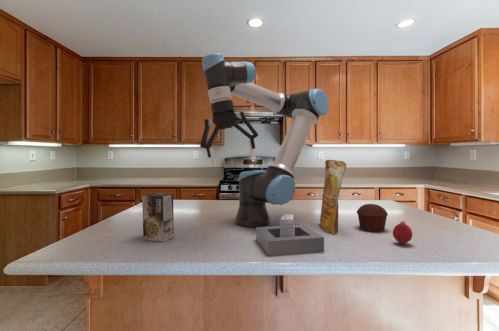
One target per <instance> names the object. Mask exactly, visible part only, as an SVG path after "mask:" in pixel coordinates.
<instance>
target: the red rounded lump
mask: <svg viewBox="0 0 499 331" xmlns="http://www.w3.org/2000/svg"><path fill="white" fill-rule="evenodd" d="M392 236H393V238H394V239H395V241H396V242H398V243H399V244H400V245H405V244H407V243H408V242H410V241H411V240H412V238H413V231H412V228H411V227H410V226H409V225H407V224H406V222H405V220H401V221H400V222H399V223H398V224H396V225H395V226H394V227H393V229H392Z"/></svg>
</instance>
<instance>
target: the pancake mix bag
mask: <svg viewBox="0 0 499 331" xmlns="http://www.w3.org/2000/svg"><path fill="white" fill-rule="evenodd" d="M324 165H325V166H324V167H325V168H324V170H325V172H324V182H323V184H324V186H323V191H322V192H323V193H322V197H321V210H320V215H319V216H320V218H319V224H320V226H321V228H322V230H324V231H325V232H326V233H328V234H333V235H336V234H338V232H339V195H340V191H341V189H342V188H341V187H342V182H343V178H344V176H345V172H346V169H347V164H346V162H345V161H342V160H336V159H326V160H325V161H324Z"/></svg>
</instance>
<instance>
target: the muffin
mask: <svg viewBox="0 0 499 331" xmlns="http://www.w3.org/2000/svg"><path fill="white" fill-rule="evenodd" d="M356 214H357V216H358V217H357V218H358V223H359V224H358V225H359V229H360V230H362V231H364V230H365V232H368V231H369V232H368V233H382V232H384V231H385V228H386V222H387V216H388V215H389V213H388V212H387V210H386V209H385V208H384V207H382V206H381V205H379V204H375V203H366V204H363V205H361V206H360V207H359V208H358V209H357V211H356Z"/></svg>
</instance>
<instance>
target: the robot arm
mask: <svg viewBox="0 0 499 331" xmlns="http://www.w3.org/2000/svg"><path fill="white" fill-rule="evenodd" d="M201 65H202V72H203V76H204V80H205V84H206V89H207V93H208V98H209V102H210V103H211V104H210V108H211V114H212V118H211V119H207V118H206V119H204V129H203V132H202V137H201V141H200V144H199V145H200V148H203V149H205V150H206V153H207V157H208V158H211V159H210V160H211V163H212V167H217V166H218V164H217V160H216V156H215V151H214V147H212V145H213V143H214V142H215V139H216V138H217V135H218V134H219V132H220V131H221V130H227V129H232V128H233V127H234V128H235V129H237V130H238V131H239V132H241V134H243V135H244V136H246V138H248V139H249V140H247V143H248V148H249V153H250V158H251V160H255V155H254V150H255V149H256V143H255V139H256V138H257V137H258V136H259V134H258V132H257V130H256V129H255V128H254V127H253V125H252V124H251V123H250V121H249V120H248V119H247V117H246V115H245V113H244V111H240V112H239V113H236V111H235V107H234V103H233V101H232V99H233V98H232V96H235V97H237V98H240V99H242V100H246V101H248V102H251V103H253V104H256V105H258V106H262V107H264V108H267V109H268V110H270V111H271V112H272V113H274V114H276V115H279V116H282V117H285V118H288V119H289V118H290V119H292V120H291V123H290V125H289V127H288V130H287V132H286V134H285V136H284V139H283V141H282V143H281V146H280V147H279V149H278V153H276V157H275V159H274V162H273V164H270V165H268V166H267V168H266V170H264V169H260V170H259V169H258V170H246V171H242V172H240V173H239V177H238V178H239V179H238V183H239V184H238V189H239V191H238V193H239V196H238V198H239V199H238V201H239V203H238V209H237V211H236V215H235V219H234V221H235V224H236V225H237V226H240V227H246V228H256V227H266V226H268V225H270V223H271V222H270V220H271V219H270V215H269V212H268V210H267V209H268V208H267V206H266V205H267V204H271V205H278V206H281V205H285V204H288V203H289V202H291V200H292V199H293V197H294V195H295V193H296V182H295V176H294V169H295V166H296V165H297V162H298V160H299V157H300V155H301V154H302V150H303V148H304V145H305V143H306V140H307V138H308V135H309V133H310V130H311V128H312V126H314V125H316V124H317V123H318V121H319V118H320V117H321V116H324V115H326V114H327V113H328V111H329V106H330V104H329V98H328V96H327V94H326V92H325V91H324V90H323V89H322V88H311V89H309V90H304V91H299V92H296V93H295V92H294V93H289V94H288V93H283V92H275V91H272V90H269V89H268V88H264V87H263V86H260V85H258V84H256V83H253V81H254V80H255V79H256V75H257V74H256V66H255V64H253V63H252V62H250V61H245V60H242V61H237V60H235V61H232V60H231V61H229V60H225V58H224V55H223V54H222V53H219V52H213V53H208V54H206V55H204V56H203V57H202V59H201ZM238 118H239V119H240V120H242V121H243V123H244V124H245V126H246V127H247V128H248V130H250V132H251V133H252V134H250V133H249V131H247V130H245V128H243V127H242V126H241V125H239V124H238V123H237V121H236V120H238ZM213 124H214V125H215V127H214V129H213V132H212V133H211V135H210V138H209V139H208V137H209V134H210V133H209V132H210V129H211V126H212V125H213Z"/></svg>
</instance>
